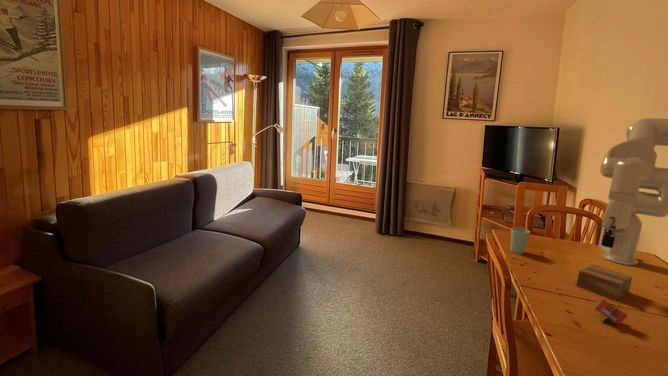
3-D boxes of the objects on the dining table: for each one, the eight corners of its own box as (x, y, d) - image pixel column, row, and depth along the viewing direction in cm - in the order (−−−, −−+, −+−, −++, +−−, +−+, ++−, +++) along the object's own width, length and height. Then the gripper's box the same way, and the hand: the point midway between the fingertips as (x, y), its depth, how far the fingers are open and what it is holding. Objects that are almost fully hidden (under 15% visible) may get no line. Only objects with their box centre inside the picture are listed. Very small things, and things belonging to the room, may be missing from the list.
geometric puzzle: (634, 319, 104) (619, 293, 106) (630, 327, 99) (613, 299, 101) (608, 323, 109) (593, 298, 111) (602, 331, 104) (587, 305, 106)
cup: (525, 250, 163) (528, 228, 161) (527, 256, 156) (531, 233, 154) (507, 247, 165) (510, 226, 163) (509, 253, 158) (512, 231, 156)
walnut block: (590, 278, 135) (593, 264, 134) (628, 292, 125) (632, 276, 124) (576, 285, 129) (579, 270, 127) (615, 300, 119) (619, 284, 118)
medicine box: (624, 256, 120) (629, 232, 118) (609, 255, 121) (614, 231, 119) (611, 248, 128) (616, 225, 126) (597, 247, 128) (602, 224, 127)
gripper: (618, 192, 128) (609, 237, 131) (599, 196, 118) (589, 245, 122) (644, 197, 122) (634, 244, 125) (626, 201, 112) (615, 252, 116)
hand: (612, 244), depth 124 cm, fingers closed on medicine box, 8 cm apart
